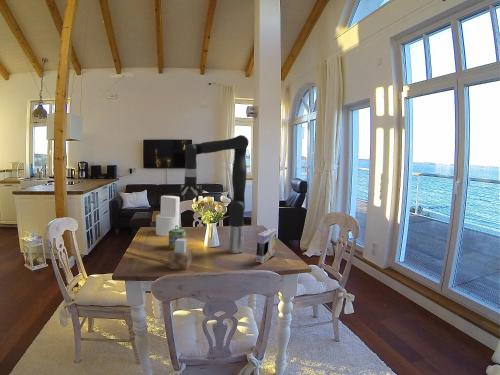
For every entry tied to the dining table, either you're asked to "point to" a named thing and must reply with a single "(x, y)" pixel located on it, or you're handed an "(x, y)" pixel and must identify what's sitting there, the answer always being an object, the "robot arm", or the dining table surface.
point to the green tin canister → (176, 236)
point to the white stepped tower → (168, 215)
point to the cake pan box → (266, 245)
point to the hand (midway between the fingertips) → (189, 201)
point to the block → (180, 245)
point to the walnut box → (180, 260)
